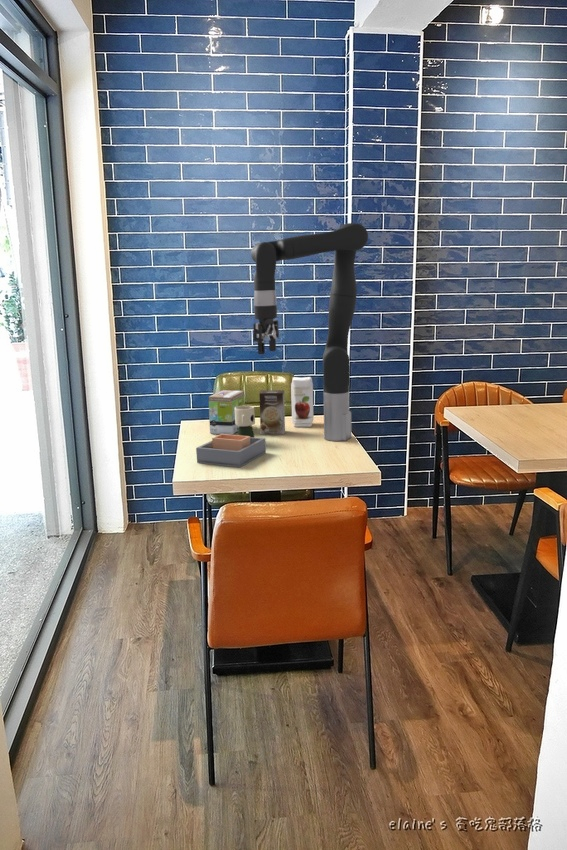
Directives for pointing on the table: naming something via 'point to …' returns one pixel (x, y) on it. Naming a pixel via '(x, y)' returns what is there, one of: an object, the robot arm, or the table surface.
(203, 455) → the charcoal crate
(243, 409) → the character mug
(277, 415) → the coffee box
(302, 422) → the juice carton
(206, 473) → the table surface
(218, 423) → the tea box
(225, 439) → the terracotta crate
